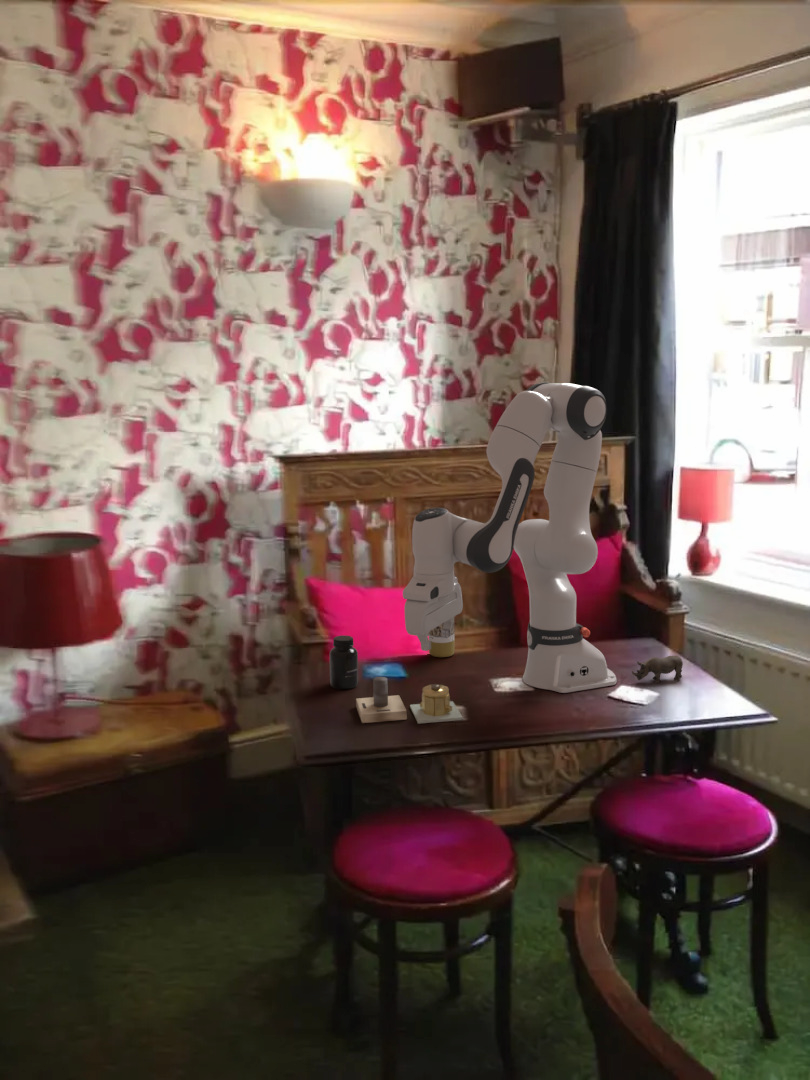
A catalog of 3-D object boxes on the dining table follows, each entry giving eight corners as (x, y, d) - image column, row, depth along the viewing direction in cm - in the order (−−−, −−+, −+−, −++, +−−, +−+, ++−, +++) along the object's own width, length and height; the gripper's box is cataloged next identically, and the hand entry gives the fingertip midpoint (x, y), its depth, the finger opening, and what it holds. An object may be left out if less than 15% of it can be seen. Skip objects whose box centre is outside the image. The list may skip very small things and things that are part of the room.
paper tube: (435, 659, 265) (434, 566, 260) (424, 652, 271) (423, 561, 266) (459, 655, 267) (458, 563, 262) (447, 648, 273) (446, 558, 268)
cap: (427, 703, 232) (427, 679, 231) (456, 709, 228) (456, 684, 227) (415, 712, 227) (414, 686, 226) (444, 718, 223) (444, 692, 222)
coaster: (452, 703, 233) (452, 701, 233) (462, 719, 224) (462, 717, 224) (410, 707, 232) (410, 704, 232) (418, 723, 222) (418, 721, 222)
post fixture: (399, 703, 234) (398, 670, 233) (406, 719, 225) (406, 685, 223) (356, 706, 233) (355, 673, 231) (362, 723, 223) (360, 688, 221)
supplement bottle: (354, 690, 243) (353, 642, 241) (327, 689, 244) (325, 641, 242) (361, 681, 250) (360, 634, 247) (334, 679, 251) (333, 633, 249)
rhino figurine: (627, 680, 247) (627, 657, 246) (678, 675, 250) (679, 651, 249) (634, 686, 243) (635, 662, 242) (687, 680, 246) (688, 656, 245)
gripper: (443, 570, 232) (446, 628, 235) (398, 593, 215) (401, 655, 218) (468, 572, 229) (470, 631, 232) (424, 596, 212) (427, 659, 215)
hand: (436, 643), depth 225 cm, fingers open, 8 cm apart
